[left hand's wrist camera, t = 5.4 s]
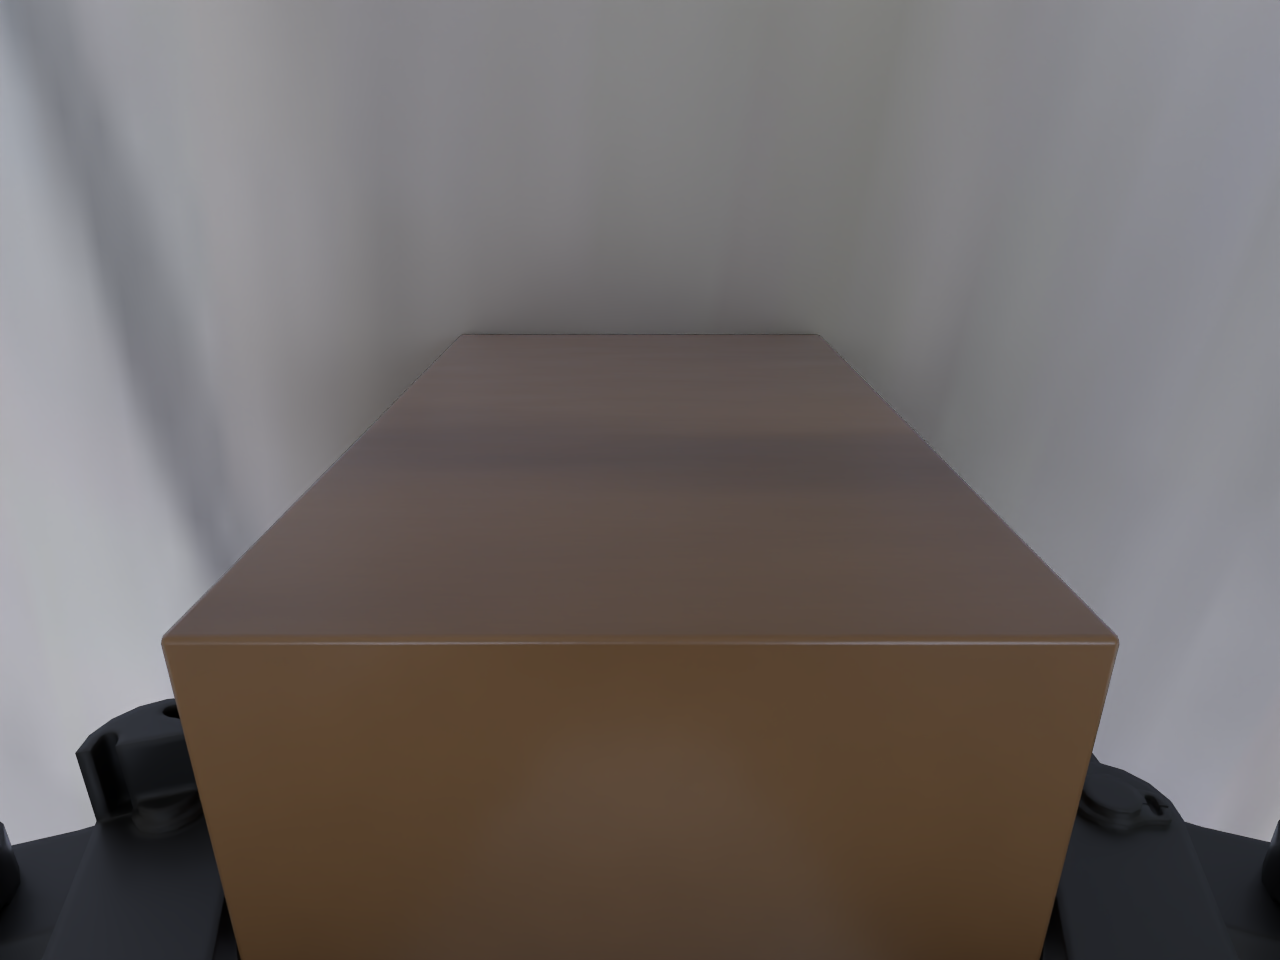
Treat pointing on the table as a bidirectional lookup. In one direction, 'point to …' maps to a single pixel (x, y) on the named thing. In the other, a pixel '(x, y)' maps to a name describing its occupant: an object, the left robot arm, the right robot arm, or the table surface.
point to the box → (640, 676)
